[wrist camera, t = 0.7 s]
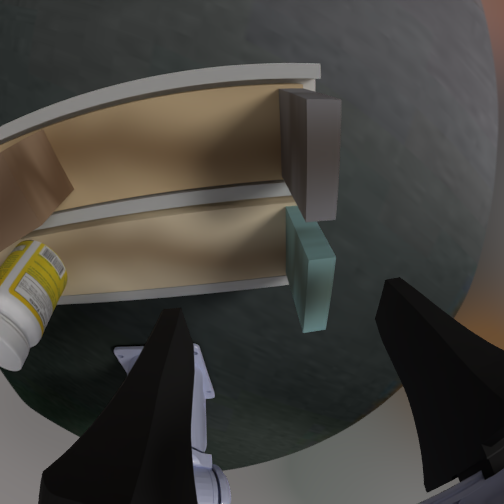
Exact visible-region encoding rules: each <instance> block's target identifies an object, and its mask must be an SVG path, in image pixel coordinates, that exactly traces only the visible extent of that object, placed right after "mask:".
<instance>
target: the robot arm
mask: <svg viewBox="0 0 504 504" xmlns="http://www.w3.org/2000/svg"><path fill="white" fill-rule="evenodd" d="M375 320H376V323H377V326H378V330H379V333H380V336H381V338H382V341H383V344H384V346H385V348H386V350H387V352H388V354H389V357H390V359H391V361H392V363H393V365H394V367H395V369H396V371H397V374H398V376H399V378H400V380H401V382H402V384H403V387H404V389H405V392H406V394H407V397H408V400H409V403H410V406H411V409H412V413H413V416H414V421H415V425H416V429H417V433H418V438H419V444H420V449H421V455H422V463H423V473H424V485H425V488H426V491H427V492H430V491H431V490H434V489H436V488H438V487H440V486H442V485H444V484H446V483H448V482H450V481H452V480H454V479H455V478H457V477H458V478H459V481H460V483H458V484H456V485H454V486H452V487H451V488H449V489H447V490H445V491H443V492H441V493H439V494H437V495H435V496H433V497H431V498H429V499H427V500H424V501H423V502H420V503H418V504H504V350H502V349H500V348H498V347H496V346H494V345H493V344H491V343H489V342H487V341H486V340H484V339H483V338H481V337H479V336H478V335H476V334H474V333H473V332H471V331H470V330H468V329H467V328H466V327H464V326H463V325H461V324H460V323H459V322H457V321H456V320H455V319H453V318H452V317H451V316H449V315H448V314H447V313H445V312H444V311H443V310H441V309H440V308H439V307H437V306H436V305H435V304H434V303H432V302H431V301H430V300H429V299H427V298H426V297H425V296H424V295H422V294H421V293H420V292H419V291H417V290H416V289H415V288H413V287H412V286H411V285H409V284H408V283H407V282H405V281H404V280H403V279H401V278H400V277H399V278H393V279H388V280H385V284H384V288H383V292H382V296H381V299H380V303H379V307H378V310H377V314H376V317H375ZM114 354H115V355H116V357H117V358H118V360H119V362H120V363H121V365H122V366H123V368H124V369H125V371H126V373H127V377H126V378H125V380H124V382H123V383H122V385H121V386H120V388H119V389H118V391H117V392H116V394H115V395H114V397H113V398H112V399H111V401H110V402H109V404H108V405H107V406H106V408H105V409H104V410H103V411H102V413H101V414H100V415H99V416H98V418H97V419H96V420H95V421H94V423H93V424H92V425H91V426H90V427H89V428H88V430H87V431H86V432H85V433H84V434H83V435H82V436H81V437H80V438H79V439H78V440H77V441H76V442H75V443H74V444H73V445H72V446H71V447H70V448H69V449H68V450H67V451H66V452H65V453H64V454H63V455H62V456H61V457H60V458H58V459H57V460H56V461H55V462H54V463H53V464H51V465H50V466H49V467H48V468H47V469H46V470H44V471H43V473H42V478H41V484H40V493H39V502H38V504H231V491H230V486H229V482H228V480H227V478H226V476H225V474H224V473H223V471H222V470H221V469H220V467H219V466H217V465H215V464H212V455H211V454H205V453H204V452H205V450H206V446H207V432H206V399H210V398H214V397H215V393H214V390H213V387H212V384H211V381H210V378H209V375H208V372H207V369H206V366H205V363H204V360H203V356H202V353H201V350H200V347H199V345H197V344H195V343H193V342H192V339H191V336H190V333H189V330H188V327H187V324H186V321H185V318H184V315H183V312H182V309H181V308H172V309H164V310H163V311H162V312H161V314H160V316H159V318H158V320H157V322H156V324H155V326H154V328H153V330H152V332H151V334H150V336H149V338H148V340H147V342H146V344H145V346H130V347H115V348H114Z"/></svg>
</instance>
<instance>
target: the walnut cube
mask: <svg viewBox="0 0 504 504" xmlns="http://www.w3.org/2000/svg"><path fill="white" fill-rule="evenodd" d="M73 190H74V188H73V186H72V184H71V182H70V181H69V179H68V177H67V175H66V173H65V171H64V169H63V168H62V166H61V164H60V162H59V160H58V158H57V156H56V154H55V152H54V150H53V148H52V146H51V144H50V142H49V140H48V138H47V136H46V134H45V132H44V130H43V129H42V130H40V131H38V132H36V133H35V134H33V135H31V136H29V137H27V138H25V139H23V140H21V141H19V142H18V143H16V144H14V145H12V146H10V147H9V148H7V149H5V150H4V151H2V152H1V153H0V252H1V251H3V250H4V249H6V248H7V247H9V246H10V245H12V244H13V243H15V242H16V241H18V240H19V239H21V238H22V237H24V236H25V235H27V234H29V233H30V232H32V231H33V230H35V229H37V228H38V227H40V226H41V225H43V223H44V222H45V221H46V220H47V219H48V218H49V216H50V215H51V214H52V213H53V212H54V211H55V210H56V209H57V207H58V206H59V205H60V204H61V203H62V202H63V201H64V200H65V199H66V198H67V197H68V196H69V195H70V193H71V192H72V191H73Z"/></svg>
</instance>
